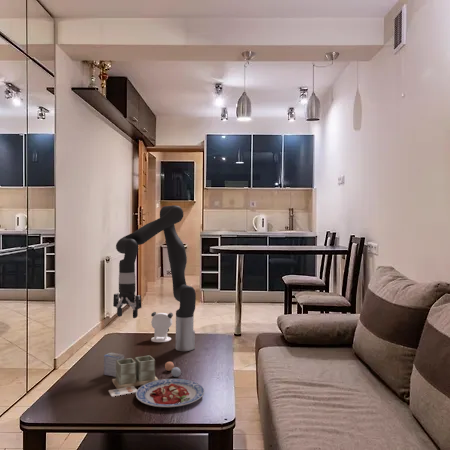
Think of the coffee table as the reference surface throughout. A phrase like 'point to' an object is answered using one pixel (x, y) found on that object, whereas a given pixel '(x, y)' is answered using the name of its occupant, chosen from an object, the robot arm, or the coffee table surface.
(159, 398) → the ceramic plate
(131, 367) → the tube stand
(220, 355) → the coffee table surface
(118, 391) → the card
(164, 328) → the white bear shaped stand
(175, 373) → the grey ball
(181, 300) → the robot arm
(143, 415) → the coffee table surface
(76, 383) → the coffee table surface
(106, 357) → the medicine box
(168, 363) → the terracotta ball
